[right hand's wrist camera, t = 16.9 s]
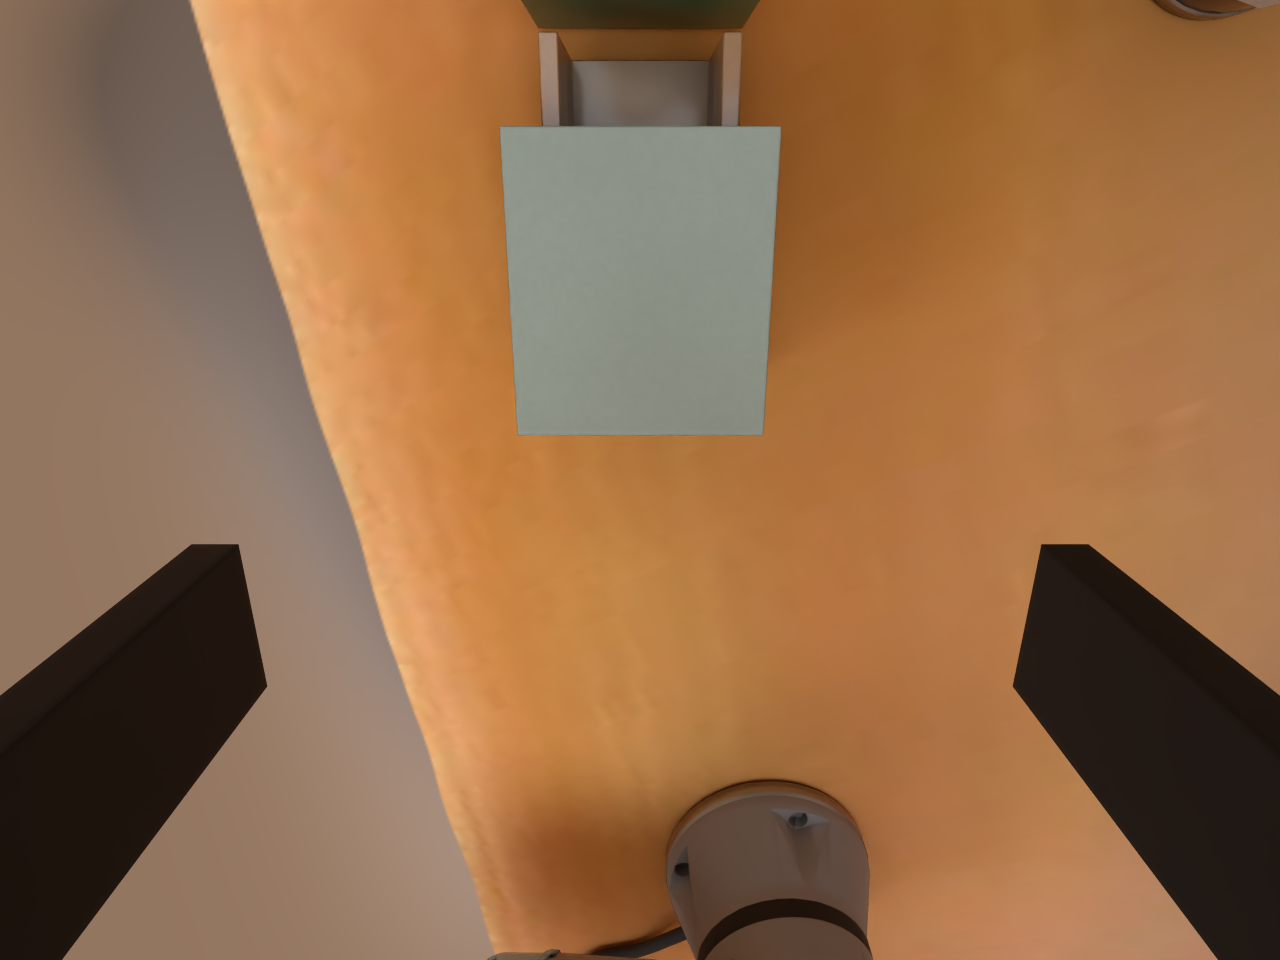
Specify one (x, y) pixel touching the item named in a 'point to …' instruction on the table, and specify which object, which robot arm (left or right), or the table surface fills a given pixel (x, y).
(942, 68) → the table surface
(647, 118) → the drawer
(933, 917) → the table surface
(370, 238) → the table surface
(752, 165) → the grey box
